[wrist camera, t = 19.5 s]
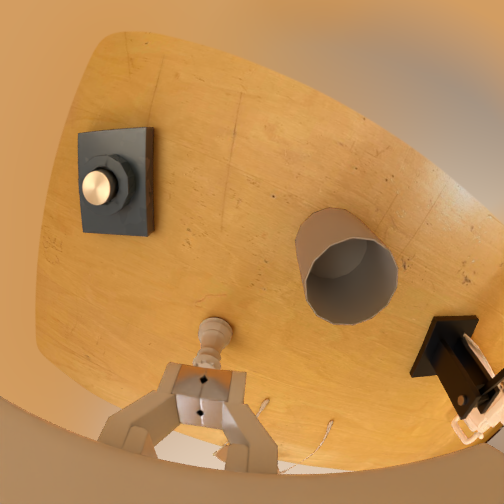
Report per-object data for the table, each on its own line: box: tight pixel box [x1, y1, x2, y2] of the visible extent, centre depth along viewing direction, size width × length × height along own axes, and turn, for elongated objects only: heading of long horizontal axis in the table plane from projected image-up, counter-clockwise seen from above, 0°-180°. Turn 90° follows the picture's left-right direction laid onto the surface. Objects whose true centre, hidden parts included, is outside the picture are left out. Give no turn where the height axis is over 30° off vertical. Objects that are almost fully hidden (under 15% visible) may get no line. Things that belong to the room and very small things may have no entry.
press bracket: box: [410, 316, 500, 420], centre depth 32 cm, size 11×9×14 cm
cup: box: [295, 208, 398, 325], centre depth 29 cm, size 8×8×10 cm
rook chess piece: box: [193, 318, 233, 369], centre depth 35 cm, size 4×4×8 cm
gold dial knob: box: [82, 169, 118, 205], centre depth 28 cm, size 4×4×2 cm
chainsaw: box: [451, 333, 504, 444], centre depth 36 cm, size 15×35×12 cm, turn 49°
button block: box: [78, 127, 154, 237], centre depth 30 cm, size 12×9×4 cm
